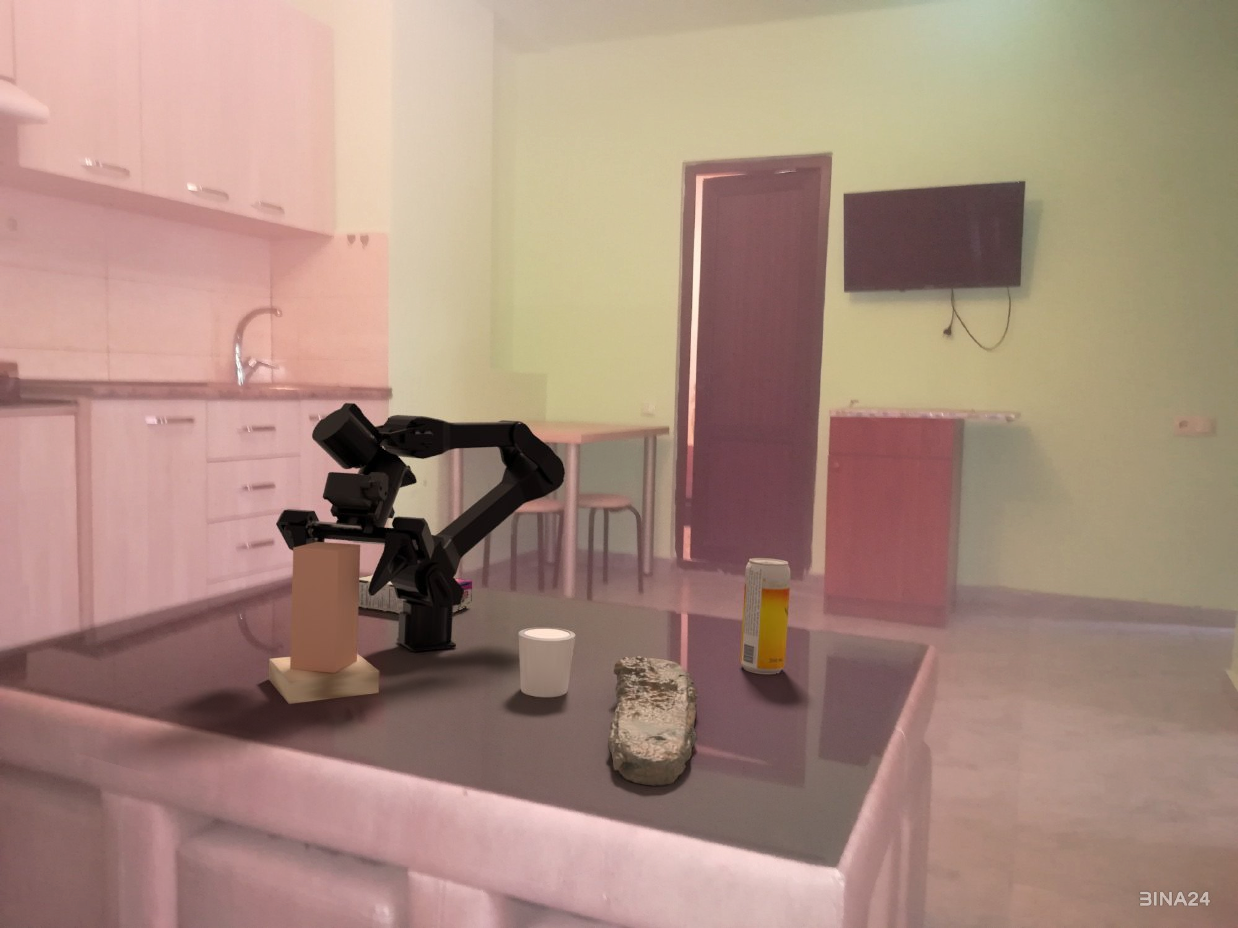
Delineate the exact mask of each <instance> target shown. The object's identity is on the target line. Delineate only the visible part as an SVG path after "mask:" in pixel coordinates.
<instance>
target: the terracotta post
mask: <svg viewBox="0 0 1238 928" xmlns="http://www.w3.org/2000/svg"><path fill="white" fill-rule="evenodd" d="M292 553H293V554H292V582H291V583H292V585H291V586H292V588H291V589H292V590H291V596H292V597H291V618H290V619H291V620H290V621H291V625H290V626H291V627H290V630H291V631H290V656H289V657H290V669H295V670H306V671H317V672H328V673H336V672H338V671H340V670H341V669H343V668H345V667H347V666H349V665H350V664H352V663H354V662H356V661H357V654H358V638H359V637H358V635H359V578H360V571H361V569H360V568H361V566H360V565H361V544H359V543H356V544H355V543H343V542H342V543H341V542H340V543H338V542H325V541H324V542H315V543H311V544H306V545H302V546H298V547H294V548H293V551H292Z"/></svg>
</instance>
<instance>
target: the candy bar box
mask: <svg viewBox="0 0 1238 928" xmlns="http://www.w3.org/2000/svg"><path fill="white" fill-rule="evenodd" d="M372 576H373V574H370V575H365V576H362V577H359V607H362V608H361V609H366V608H372V609H376V610H375V611H379V610H384V611H383V612H386V611H391V612H390V613H393V612H395V614H399V613H400V612H403V601H404V600H405V599H399V598H397V596H396V592H395V589H394V586H393V584H392V583H391V582H389V583H387V584H386V585H385V586H384V587H383V588H382V589H381V590H379V591H378V592H377V593H376V594H375V595H374V596H370V595H369V592H368V589H369V585H370V582H371V579H372ZM453 578H454V579H455V580H456V581H457V582H458V583H459V585H460V586H461V587H462V588H463V589H464V593H463V596H462V600H461V603H460V604H459V605H454V606H453V611H455V610H459V609H460V608H463V607H467V606H468V605H471V606H472V601H473V599H472V596H473V594H472V593H473V580H471V579H463V578H457V577H453ZM359 607H358V608H359ZM372 609H371V610H372Z"/></svg>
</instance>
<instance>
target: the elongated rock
mask: <svg viewBox="0 0 1238 928" xmlns="http://www.w3.org/2000/svg"><path fill="white" fill-rule="evenodd" d="M613 674H614V675H616V685H615V697H616V700H615V701H616V708H615V710H614V713H613V716H612V718H611V720H610V724H609V734H608V738H607V740H608V743H609V752H610V753H611V756H612V761H613V762H612V766H613V770H614V771H618V773H619V774H620V775H622V777H623V778H624V779H625V780H626V781H630V782H633V783H634V784H640V785H643V786H653V787H656V786H658V787H660V786H665V785H672V784H674V783H675V781H676V780H678V778H679V776H680V775H682V774H683V772H684V770H685V768H686V763H687V762H688V761H689V760H690V758H691V757H692V747H693V746H695V744H696V742H697V741H698V735H697V732H696V730H695V728H694V727H695V719H696V718H697V711H696V709H697V708H696V707H697V706H698V703H697V701H696V700H697V698H698V691H697V689H696V686H695V681H692V678H691V674H690V673H689V672H687V671H686V668H684V667H683V666H682V665H681V664H679V663H677V662H676V661H671V660H667V659H662V658H655V657H651V658H648V657H643V656H642V655H636V656H633V657H631V658H629V657H627V656H624V657H623V658H621V659H618V660H617V661H616V662H615V663H614V668H613Z"/></svg>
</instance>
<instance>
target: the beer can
mask: <svg viewBox="0 0 1238 928" xmlns="http://www.w3.org/2000/svg"><path fill="white" fill-rule="evenodd" d="M748 560H749V561H748V562H747V564H746V566H745V573H744V575H745V576H744V589H743V591H744V593H743V609H742V621H741V622H742V624H741V625H742V626H741V637H740V638H741V643H740V656H739V657H740V658H739V662H740V664H741V665H742V666H743V669H744V670H745V671H747V672H750V673H753V674H758V675H777V674H779V673H781V670H782V669H783V668H784V667H786V651H787V635H788V622H789V621H788V618H789V605H790V604H789V602H790V588H791V572H792V570H791V568H790V565H789V562H788V561H786V560H783V559H777V558H770V557H769V558H767V557H766V558H765V557H753V558H749V559H748ZM776 673H777V674H776Z"/></svg>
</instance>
